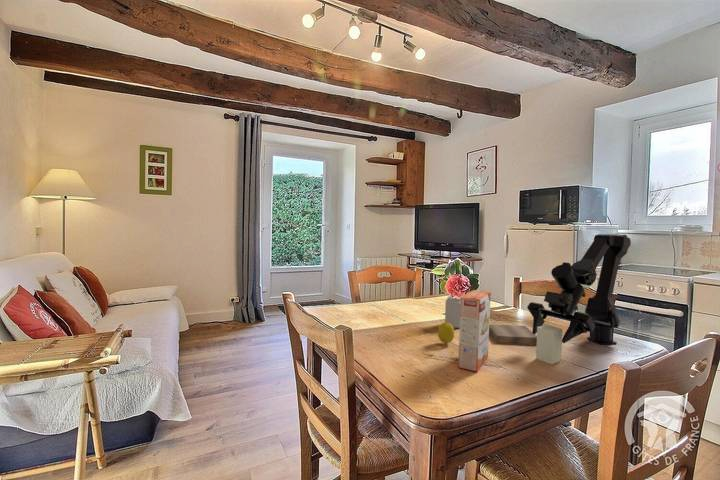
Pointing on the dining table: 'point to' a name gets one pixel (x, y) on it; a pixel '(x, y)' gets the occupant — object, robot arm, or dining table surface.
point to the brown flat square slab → (512, 334)
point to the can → (453, 311)
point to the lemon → (446, 332)
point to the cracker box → (474, 329)
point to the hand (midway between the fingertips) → (547, 337)
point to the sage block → (549, 344)
